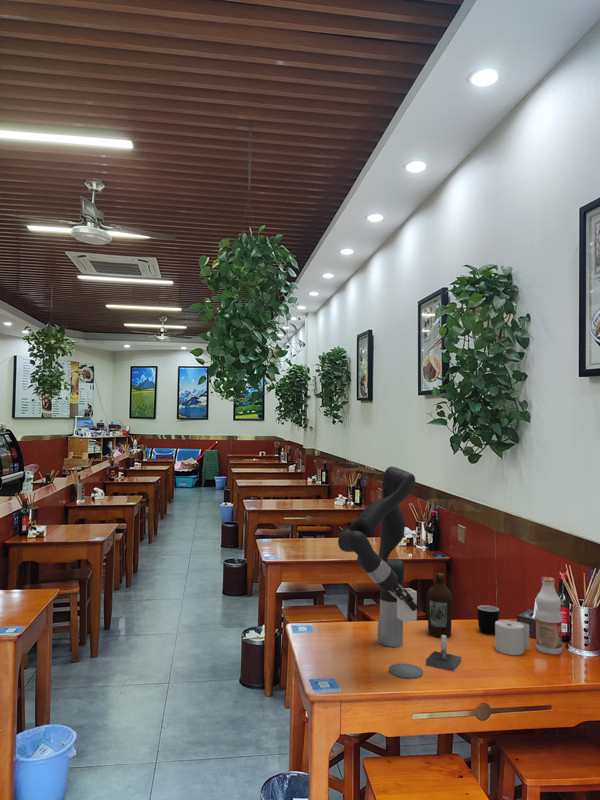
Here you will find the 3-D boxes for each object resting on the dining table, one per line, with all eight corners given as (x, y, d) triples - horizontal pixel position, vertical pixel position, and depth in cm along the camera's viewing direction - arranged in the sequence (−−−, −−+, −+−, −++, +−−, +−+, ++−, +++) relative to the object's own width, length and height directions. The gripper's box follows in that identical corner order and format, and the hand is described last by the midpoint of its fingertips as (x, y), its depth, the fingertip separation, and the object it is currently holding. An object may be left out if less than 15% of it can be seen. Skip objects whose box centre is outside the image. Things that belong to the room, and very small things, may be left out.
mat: (383, 673, 196) (383, 671, 196) (395, 662, 207) (395, 660, 207) (416, 681, 190) (416, 679, 190) (427, 669, 200) (427, 668, 200)
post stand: (425, 665, 205) (426, 636, 206) (434, 656, 213) (434, 629, 214) (453, 671, 200) (453, 642, 201) (461, 662, 208) (461, 634, 209)
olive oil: (428, 628, 246) (429, 570, 248) (454, 632, 242) (454, 572, 244) (424, 636, 236) (425, 575, 238) (450, 640, 232) (451, 578, 234)
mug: (502, 635, 239) (502, 611, 239) (482, 635, 238) (482, 611, 239) (491, 626, 251) (491, 603, 251) (471, 626, 250) (471, 603, 251)
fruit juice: (531, 646, 227) (531, 575, 229) (554, 646, 227) (554, 575, 229) (542, 655, 218) (542, 580, 220) (566, 655, 218) (565, 581, 220)
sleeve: (404, 621, 196) (404, 592, 197) (396, 617, 201) (397, 588, 202) (416, 620, 198) (416, 591, 199) (409, 616, 203) (409, 588, 204)
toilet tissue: (489, 649, 222) (489, 623, 223) (506, 643, 230) (505, 617, 231) (515, 657, 214) (515, 630, 215) (531, 650, 222) (530, 624, 223)
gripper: (398, 570, 192) (429, 604, 195) (379, 561, 205) (407, 593, 209) (384, 587, 190) (415, 621, 193) (365, 577, 203) (394, 609, 206)
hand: (411, 606), depth 201 cm, fingers closed on sleeve, 5 cm apart
